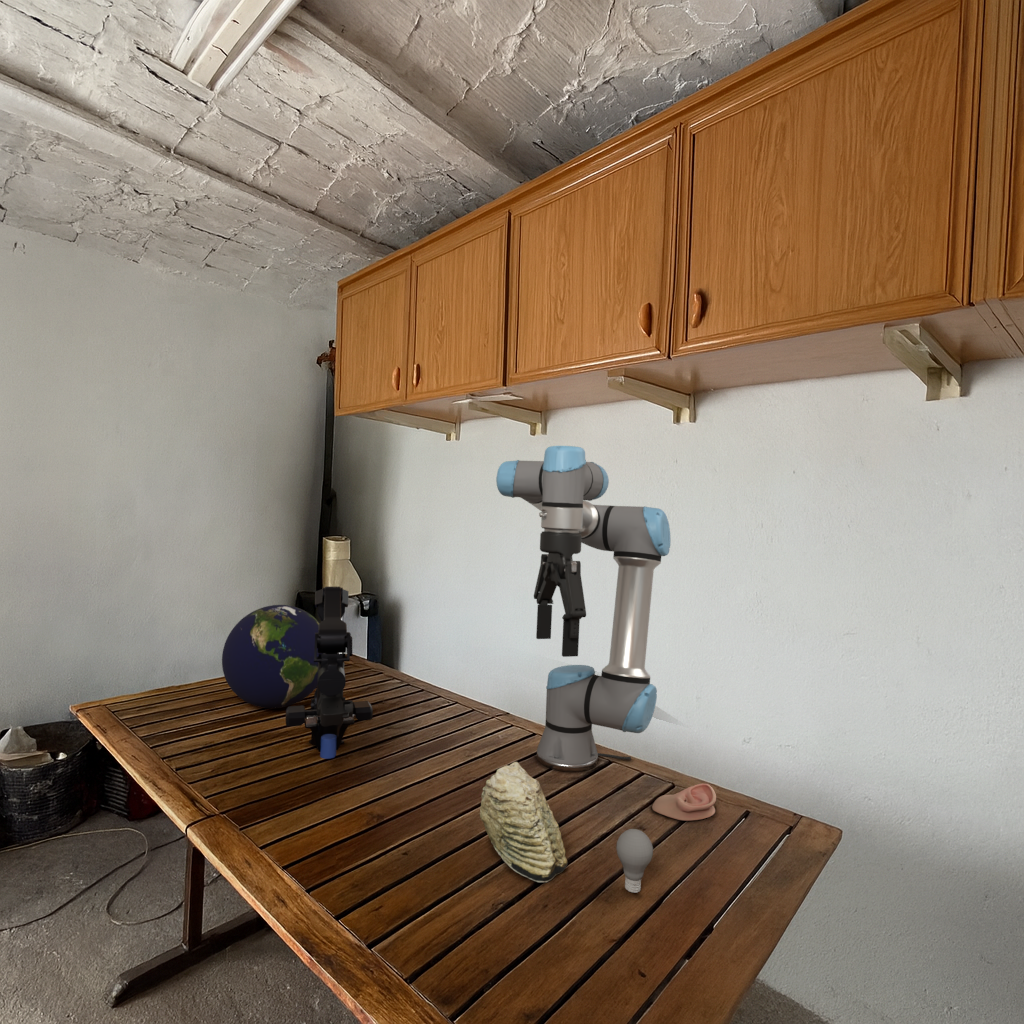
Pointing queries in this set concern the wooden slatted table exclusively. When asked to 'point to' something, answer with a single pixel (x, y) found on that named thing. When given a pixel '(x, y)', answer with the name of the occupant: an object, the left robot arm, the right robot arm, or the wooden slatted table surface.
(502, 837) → the fossil
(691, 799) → the anatomical model
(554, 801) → the wooden slatted table surface
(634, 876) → the light bulb
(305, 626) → the globe
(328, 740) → the cylinder
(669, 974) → the wooden slatted table surface
